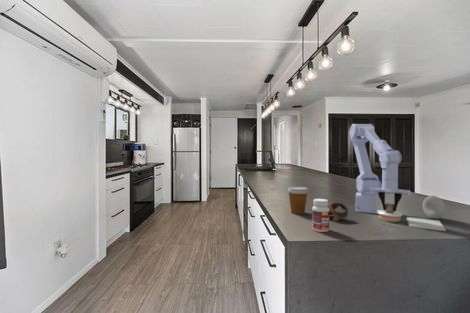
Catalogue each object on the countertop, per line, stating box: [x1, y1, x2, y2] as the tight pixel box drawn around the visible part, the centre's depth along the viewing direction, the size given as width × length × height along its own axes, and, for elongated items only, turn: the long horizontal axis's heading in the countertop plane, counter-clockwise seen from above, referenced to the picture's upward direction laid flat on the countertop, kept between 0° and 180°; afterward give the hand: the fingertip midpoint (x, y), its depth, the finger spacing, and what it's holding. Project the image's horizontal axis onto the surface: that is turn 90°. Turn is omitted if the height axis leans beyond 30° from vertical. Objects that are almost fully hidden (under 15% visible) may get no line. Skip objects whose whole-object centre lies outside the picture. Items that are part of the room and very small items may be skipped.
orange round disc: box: [378, 214, 402, 223], centre depth 107 cm, size 9×9×2 cm
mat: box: [406, 216, 447, 232], centre depth 100 cm, size 11×13×1 cm
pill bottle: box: [311, 198, 330, 233], centre depth 93 cm, size 6×6×11 cm
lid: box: [377, 202, 403, 217], centre depth 107 cm, size 9×9×4 cm
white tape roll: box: [422, 195, 446, 220], centre depth 108 cm, size 10×4×10 cm, turn 3°
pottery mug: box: [327, 201, 349, 223], centre depth 108 cm, size 12×10×8 cm
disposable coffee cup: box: [287, 186, 309, 215], centre depth 119 cm, size 10×10×12 cm
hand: (389, 210), depth 107 cm, fingers closed on lid, 3 cm apart
